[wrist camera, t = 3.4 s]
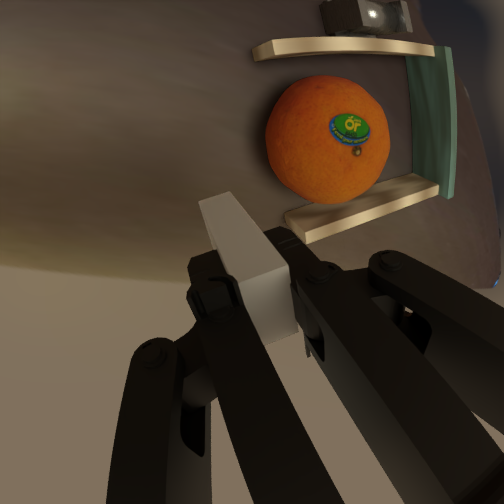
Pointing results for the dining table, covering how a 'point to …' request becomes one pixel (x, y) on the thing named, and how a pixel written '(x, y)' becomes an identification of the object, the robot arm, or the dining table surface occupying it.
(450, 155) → the bay
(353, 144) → the fruit
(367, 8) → the dark grey bracket
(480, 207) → the dining table surface
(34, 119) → the dining table surface
